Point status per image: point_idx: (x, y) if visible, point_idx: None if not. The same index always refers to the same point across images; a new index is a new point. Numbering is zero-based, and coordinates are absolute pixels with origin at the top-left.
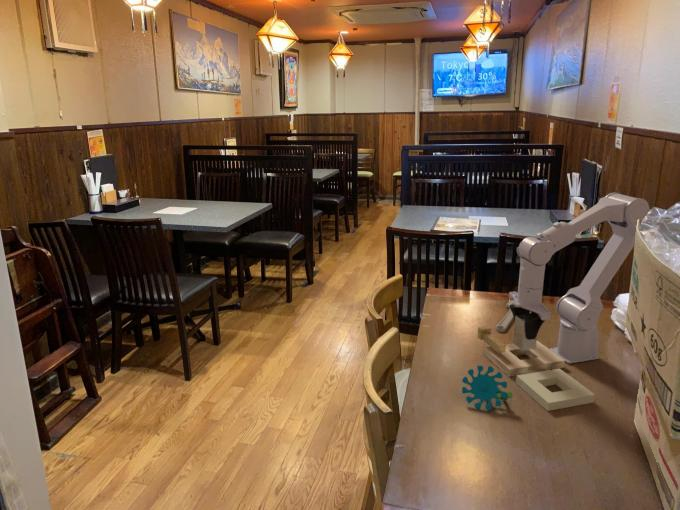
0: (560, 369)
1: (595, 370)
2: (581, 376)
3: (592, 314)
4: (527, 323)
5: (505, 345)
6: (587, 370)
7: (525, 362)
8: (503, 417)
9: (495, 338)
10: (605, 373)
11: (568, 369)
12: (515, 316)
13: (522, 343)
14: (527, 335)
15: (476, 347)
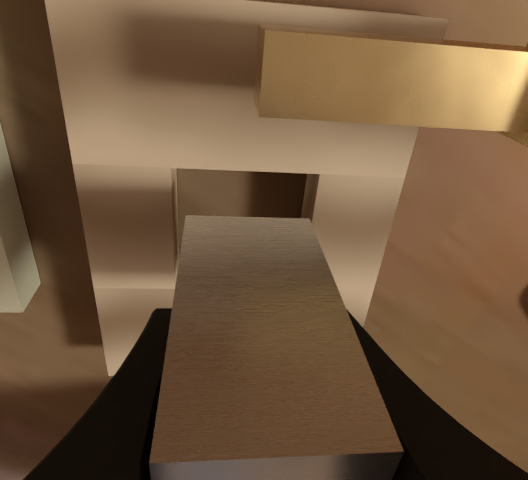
0: (10, 310)
1: (70, 423)
2: (24, 361)
3: None
4: (89, 466)
5: (259, 111)
6: (75, 402)
7: (130, 179)
8: None
9: (416, 106)
10: (41, 438)
11: (97, 349)
12: (395, 437)
13: (183, 247)
14: (153, 330)
15: (523, 31)
